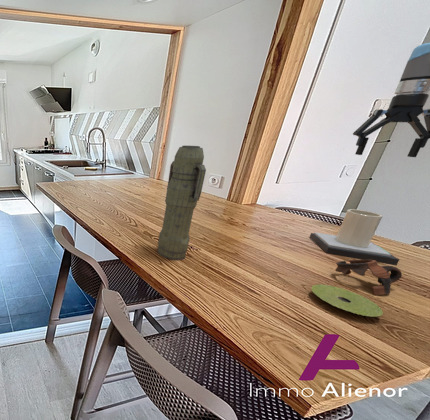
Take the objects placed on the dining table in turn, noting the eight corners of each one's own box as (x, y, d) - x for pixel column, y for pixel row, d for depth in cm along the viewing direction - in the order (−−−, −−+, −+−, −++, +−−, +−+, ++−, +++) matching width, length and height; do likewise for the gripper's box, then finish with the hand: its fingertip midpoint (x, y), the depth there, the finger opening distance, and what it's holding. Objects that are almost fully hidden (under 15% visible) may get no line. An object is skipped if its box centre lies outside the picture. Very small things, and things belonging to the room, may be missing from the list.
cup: (360, 240, 86) (373, 211, 82) (373, 249, 80) (388, 218, 76) (331, 236, 89) (343, 208, 85) (341, 244, 83) (355, 214, 79)
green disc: (306, 284, 66) (308, 278, 65) (371, 303, 59) (374, 296, 58) (311, 306, 58) (314, 300, 57) (387, 331, 51) (391, 324, 50)
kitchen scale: (368, 246, 87) (372, 239, 87) (396, 265, 76) (400, 257, 75) (309, 237, 95) (311, 231, 94) (326, 253, 83) (329, 245, 82)
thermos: (166, 243, 88) (184, 144, 77) (195, 259, 78) (221, 147, 67) (147, 247, 85) (163, 145, 74) (175, 264, 75) (198, 148, 63)
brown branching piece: (365, 298, 61) (353, 265, 63) (332, 291, 71) (321, 262, 72) (424, 291, 59) (409, 257, 61) (381, 285, 68) (370, 256, 70)
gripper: (366, 94, 88) (343, 154, 94) (480, 90, 77) (444, 158, 84) (354, 97, 94) (333, 153, 101) (458, 93, 83) (427, 156, 90)
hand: (384, 155), depth 92 cm, fingers open, 13 cm apart
